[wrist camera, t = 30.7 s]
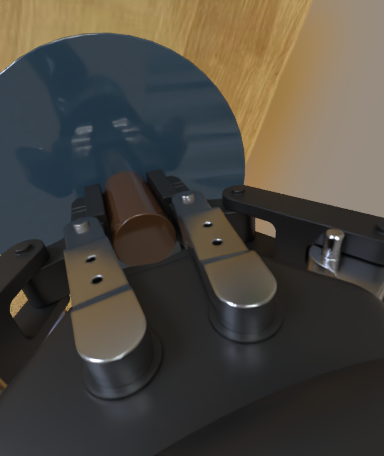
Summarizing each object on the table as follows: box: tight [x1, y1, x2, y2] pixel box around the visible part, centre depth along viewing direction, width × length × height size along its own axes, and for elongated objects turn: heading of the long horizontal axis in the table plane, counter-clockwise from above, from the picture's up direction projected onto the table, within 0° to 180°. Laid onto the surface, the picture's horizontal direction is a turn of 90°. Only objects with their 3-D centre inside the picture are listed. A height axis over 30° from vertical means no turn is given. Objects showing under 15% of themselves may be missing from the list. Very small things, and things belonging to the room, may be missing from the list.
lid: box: [0, 33, 245, 269], centre depth 13 cm, size 14×14×6 cm
